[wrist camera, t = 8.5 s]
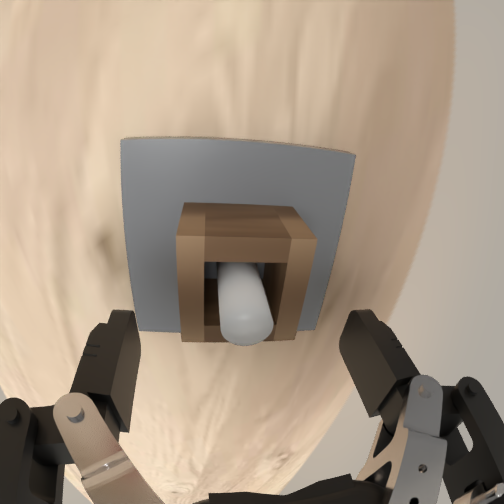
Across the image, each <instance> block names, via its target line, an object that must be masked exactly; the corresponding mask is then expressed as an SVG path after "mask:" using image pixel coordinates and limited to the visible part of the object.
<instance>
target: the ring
mask: <svg viewBox="0 0 504 504" xmlns="http://www.w3.org/2000/svg"><path fill="white" fill-rule="evenodd" d="M317 240H318V239H317V238H316V237H315V235H314V234H313V233H312V231H311V230H310V229H309V227H308V226H307V225H306V223H305V222H304V221H303V219H302V218H301V217H300V216H299V214H298V213H297V212H296V210H295V209H294V208H293V207H291V206H274V205H254V204H229V203H194V202H184V205H183V209H182V213H181V217H180V221H179V225H178V229H177V233H176V257H177V281H178V299H179V314H180V327H181V338H182V342H229V341H227V340H226V339H225V338H224V337H223V335H222V333H221V327H220V313H219V298H218V283H217V279H205V278H204V262H262V263H265V266H264V274H263V279H261V281H262V285H263V288H264V291H265V295H266V298H267V302H268V305H269V309H270V312H271V316H272V319H273V329H272V332H271V333H270V335H269V336H268V337H267V338H266V339H264V340H263V341H282V340H294V339H295V336H296V332H297V328H298V324H299V320H300V316H301V312H302V308H303V303H304V299H305V295H306V291H307V286H308V282H309V277H310V273H311V268H312V264H313V259H314V254H315V250H316V245H317Z"/></svg>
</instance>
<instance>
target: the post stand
mask: <svg viewBox="0 0 504 504" xmlns="http://www.w3.org/2000/svg"><path fill="white" fill-rule="evenodd" d="M355 158H356V155H355V154H352V153H350V152H346V151H340V150H334V149H328V148H321V147H314V146H306V145H298V144H290V143H281V142H271V141H260V140H247V139H232V138H211V137H132V138H124V139H122V140H121V187H122V205H123V219H124V231H125V241H126V250H127V259H128V267H129V274H130V281H131V288H132V294H133V301H134V307H135V312H136V318H137V323H138V328H139V331H152V332H179V333H181V327H180V314H179V299H178V281H177V257H176V233H177V229H178V225H179V221H180V217H181V213H182V209H183V205H184V202H194V203H229V204H254V205H274V206H291V207H293V208H294V209H295V210H296V212H297V213H298V214H299V216H300V217H301V218H302V219H303V221H304V222H305V223H306V225H307V226H308V227H309V229H310V230H311V231H312V233H313V234H314V235H315V237H316V238H317V239H318V240H317V245H316V250H315V254H314V259H313V264H312V268H311V273H310V277H309V282H308V286H307V291H306V295H305V299H304V303H303V308H302V312H301V316H300V320H299V324H298V328H297V331H304V330H315V327H316V324H317V320H318V317H319V314H320V310H321V307H322V303H323V300H324V296H325V292H326V289H327V285H328V281H329V277H330V274H331V270H332V266H333V262H334V258H335V254H336V250H337V245H338V241H339V237H340V233H341V228H342V224H343V219H344V215H345V210H346V205H347V200H348V195H349V190H350V185H351V180H352V174H353V169H354V163H355ZM264 266H265V263H262V262H204V278H205V279H217V283H218V298H219V313H220V327H221V333H222V335H223V337H224V338H225V339H226V340H227V341H229V342H230V343H232V344H235V345H240V346H249V345H254V344H257V343H259V342H261V341H263V340H264V339H266V338H267V337H268V336H269V335H270V333H271V332H272V329H273V319H272V316H271V312H270V309H269V305H268V302H267V298H266V295H265V291H264V288H263V285H262V281H261V279H263V274H264Z"/></svg>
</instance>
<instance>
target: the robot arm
mask: <svg viewBox="0 0 504 504" xmlns="http://www.w3.org/2000/svg"><path fill="white" fill-rule="evenodd" d="M339 349H340V353H341V355H342V357H343V360H344V362H345V364H346V366H347V368H348V371H349V373H350V375H351V377H352V379H353V382H354V384H355V386H356V388H357V390H358V393H359V395H360V397H361V399H362V402H363V404H364V406H365V408H366V411H367V413H368V415H369V417H374V416H378V415H381V417H382V420H381V421H380V423H379V426H378V429H377V432H376V436H375V439H374V442H373V445H372V448H371V451H370V454H369V457H368V459H367V462H366V463H365V465H364V467H363V468H362V469H361V471H360V472H359V474H358V476H357V478H356V480H352V477H351V474H346V475H343V476H339V477H335V478H331V479H326V480H322V481H318V482H316V483H314V484H312V485H309V486H307V487H305V488H303V489H300V490H298V491H296V492H293V493H291V494H288V495H271V494H261V493H252V492H234V493H209V499H206V500H202V501H199V502H196V503H193V504H436V503H437V499H438V495H439V490H440V486H441V481H442V478H443V480H444V483H445V486H446V488H447V491H448V494H449V497H450V499H451V502H452V504H504V423H503V421H502V420H501V418H500V416H499V414H498V412H497V410H496V409H495V407H494V405H493V403H492V402H491V400H490V398H489V397H488V395H487V393H486V392H485V390H484V388H483V387H482V385H481V384H480V383H479V382H478V381H477V380H475V379H474V378H472V377H463V378H462V379H460V381H459V382H458V384H457V385H456V386H441V385H440V384H439V383H438V381H436V380H435V379H434V378H432V377H430V376H428V375H421V374H420V373H419V371H418V370H417V368H416V367H415V365H414V363H413V362H412V360H411V359H410V357H409V356H408V354H407V352H406V351H405V349H404V348H402V345H401V343H400V342H399V340H397V337H396V336H395V334H394V333H393V331H392V330H391V328H389V327H388V326H387V325H386V324H385V323H383V322H382V321H379V320H378V319H377V317H376V316H375V314H374V313H373V311H372V310H370V309H365V310H353V311H351V312H350V314H349V316H348V319H347V322H346V324H345V327H344V330H343V332H342V335H341V337H340V341H339ZM140 356H141V344H140V338H139V333H138V328H137V323H136V318H135V313H134V311H129V310H113V311H112V312H111V315H110V318H109V321H108V323H107V324H106V323H99V324H98V325H97V326H96V327H95V328H94V329H93V330H92V331H91V332H90V335H89V337H88V340H87V343H86V346H85V348H84V351H83V356H82V357H81V360H80V362H79V365H78V368H77V371H76V374H75V378H74V381H73V384H72V387H71V390H70V392H69V394H66V395H64V396H62V397H61V398H60V399H59V400H58V401H57V402H56V404H55V405H52V406H45V407H33V408H29V406H28V405H27V404H26V403H25V402H24V401H23V400H21V399H19V398H9V399H6V400H4V401H3V402H2V403H1V404H0V504H62V496H63V481H64V470H65V464H76V466H77V468H78V469H79V471H80V473H81V476H82V478H81V481H82V484H83V486H84V488H85V490H86V492H87V493H88V495H89V497H90V498H91V500H92V501H93V503H94V504H165V503H164V502H163V501H162V500H161V499H160V498H159V497H158V495H157V494H156V493H155V492H154V491H153V489H152V488H151V487H150V486H149V484H148V483H147V482H146V481H145V479H144V478H143V477H142V476H141V474H140V473H139V472H138V470H137V469H136V468H135V466H134V465H133V463H132V462H131V461H130V459H129V458H128V456H127V455H126V454H125V452H124V451H123V449H122V448H121V446H120V445H119V443H118V442H119V434H120V432H128V433H129V430H130V421H131V414H132V406H133V399H134V392H135V386H136V380H137V374H138V368H139V362H140ZM462 422H464V424H465V426H466V428H467V430H468V432H469V434H470V436H471V438H472V440H473V448H472V450H471V451H470V452H469V451H468V450H467V447H466V445H465V443H464V441H463V439H462V437H461V435H460V433H459V430H458V428H457V427H458V426H459V425H460V424H461V423H462Z"/></svg>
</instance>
